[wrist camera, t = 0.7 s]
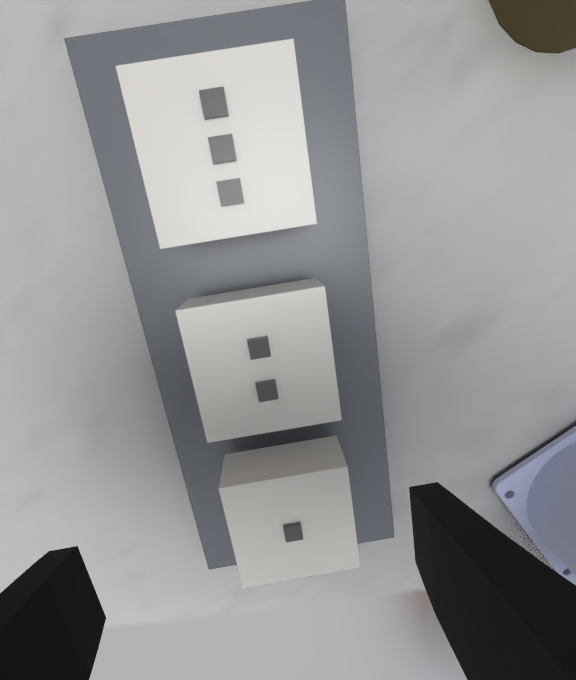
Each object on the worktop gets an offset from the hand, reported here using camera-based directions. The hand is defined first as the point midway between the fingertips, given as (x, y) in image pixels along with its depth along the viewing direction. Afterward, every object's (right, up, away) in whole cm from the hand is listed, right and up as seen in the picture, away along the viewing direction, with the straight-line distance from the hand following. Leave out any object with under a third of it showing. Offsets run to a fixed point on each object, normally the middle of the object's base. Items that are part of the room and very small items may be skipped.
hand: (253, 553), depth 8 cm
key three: (-1, +11, +5) cm, 12 cm away
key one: (+1, -2, +9) cm, 10 cm away
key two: (0, +4, +7) cm, 8 cm away
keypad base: (0, +5, +9) cm, 11 cm away
